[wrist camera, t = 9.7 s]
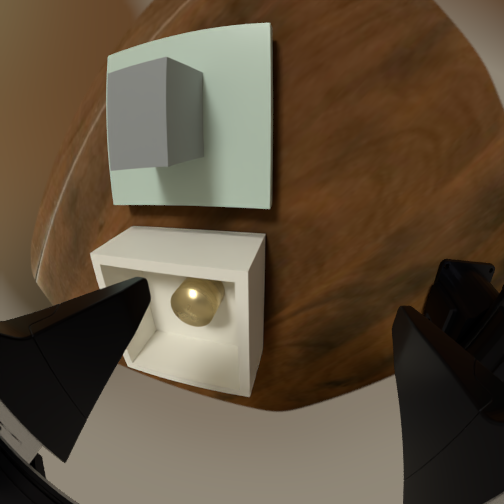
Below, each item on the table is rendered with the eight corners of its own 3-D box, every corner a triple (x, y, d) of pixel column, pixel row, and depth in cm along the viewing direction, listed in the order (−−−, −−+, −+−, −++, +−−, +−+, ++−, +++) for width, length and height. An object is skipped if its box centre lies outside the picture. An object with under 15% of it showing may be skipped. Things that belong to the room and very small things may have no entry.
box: (265, 233, 21) (248, 271, 15) (262, 349, 26) (249, 397, 20) (132, 226, 23) (90, 253, 18) (154, 329, 28) (128, 366, 23)
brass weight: (223, 272, 22) (211, 291, 19) (226, 308, 23) (215, 330, 21) (183, 267, 23) (167, 285, 20) (188, 302, 24) (174, 322, 21)
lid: (274, 32, 14) (254, -11, 8) (273, 202, 20) (255, 235, 14) (122, 59, 17) (64, 48, 11) (127, 198, 22) (73, 225, 16)
